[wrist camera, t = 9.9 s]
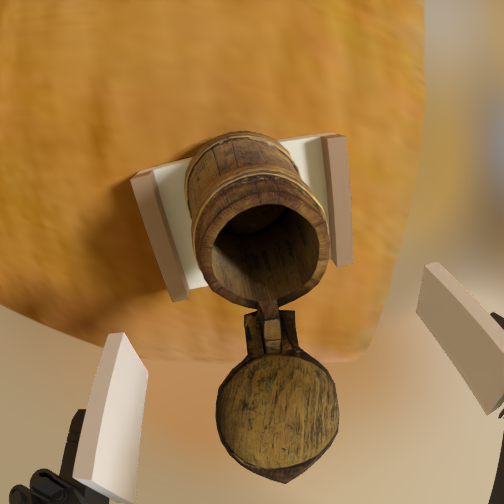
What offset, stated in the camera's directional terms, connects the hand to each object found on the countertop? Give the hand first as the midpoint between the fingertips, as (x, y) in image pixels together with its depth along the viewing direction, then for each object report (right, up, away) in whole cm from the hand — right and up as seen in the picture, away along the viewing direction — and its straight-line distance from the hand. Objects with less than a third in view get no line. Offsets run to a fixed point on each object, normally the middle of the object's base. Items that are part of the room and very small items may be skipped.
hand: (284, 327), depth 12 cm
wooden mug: (-2, +6, +12) cm, 14 cm away
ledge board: (-2, +7, +14) cm, 15 cm away
